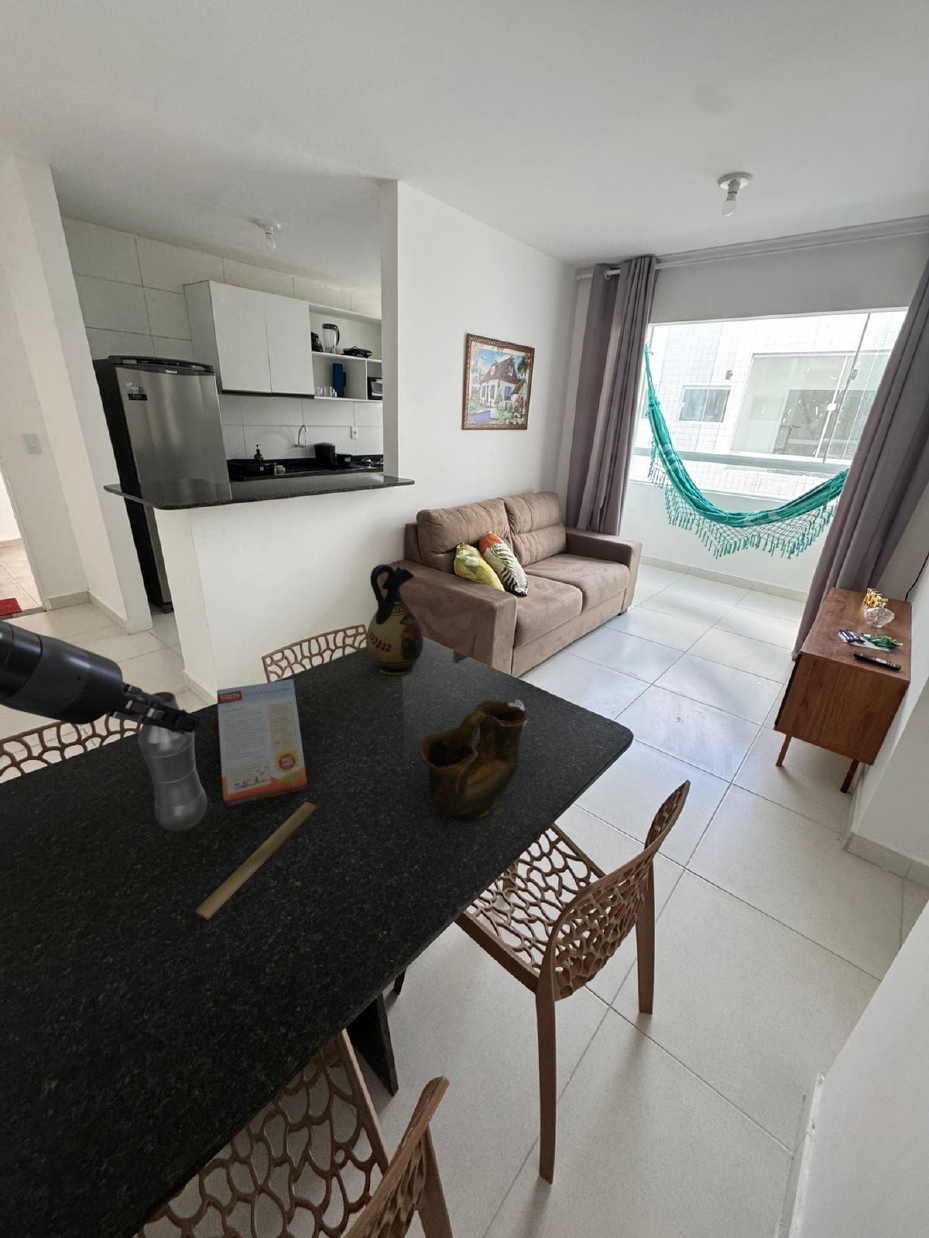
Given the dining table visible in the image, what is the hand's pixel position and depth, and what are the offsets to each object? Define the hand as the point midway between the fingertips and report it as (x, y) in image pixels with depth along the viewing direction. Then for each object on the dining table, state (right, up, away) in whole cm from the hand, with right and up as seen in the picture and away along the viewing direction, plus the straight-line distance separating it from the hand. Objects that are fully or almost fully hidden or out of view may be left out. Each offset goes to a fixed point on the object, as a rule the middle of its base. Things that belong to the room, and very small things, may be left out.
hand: (176, 717), depth 67 cm
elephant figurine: (+49, -12, +53) cm, 73 cm away
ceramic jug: (+18, -1, +75) cm, 77 cm away
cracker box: (+2, -19, +25) cm, 32 cm away
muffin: (-8, -14, +40) cm, 44 cm away
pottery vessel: (+39, -22, +30) cm, 54 cm away
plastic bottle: (-2, -16, +5) cm, 17 cm away
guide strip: (+5, -26, +16) cm, 31 cm away
